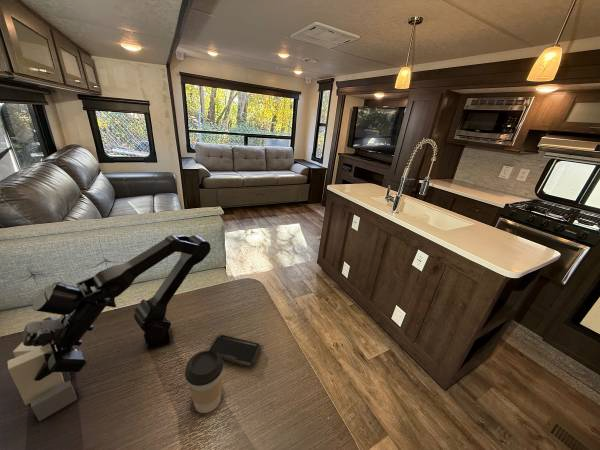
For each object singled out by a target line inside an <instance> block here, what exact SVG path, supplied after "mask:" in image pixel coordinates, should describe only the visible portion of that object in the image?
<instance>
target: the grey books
mask: <svg viewBox="0 0 600 450" xmlns="http://www.w3.org/2000/svg"><path fill="white" fill-rule="evenodd" d="M61 374H62V376H63V379H64V384H62V385H60V386H58V387H56V388H54V389H52V390H50V391H48V392H47V393H45V394H43V395H41V396H39V397H37V398H35V399H33V400H31V401H30V402H31V403H30V407H31V410H32V411H33V414H34V415H35V416H36V419H37V420H38V422H41V421H42V420H44V419H46V418H47V417H50V416H51V415H53V414H55V413H56V412H58V411H60V410H62V409H63V408H65V407H67V406H68V405H70V404H72V403H74V402H75V401H77V400H78V397H77V394H76V392H75V389H74V387H73V385H72V382H71V379H72V378H71V374H70V372H61Z"/></svg>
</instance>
